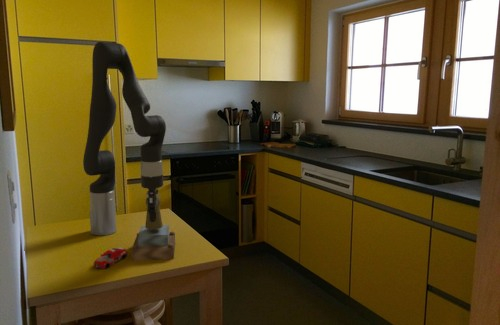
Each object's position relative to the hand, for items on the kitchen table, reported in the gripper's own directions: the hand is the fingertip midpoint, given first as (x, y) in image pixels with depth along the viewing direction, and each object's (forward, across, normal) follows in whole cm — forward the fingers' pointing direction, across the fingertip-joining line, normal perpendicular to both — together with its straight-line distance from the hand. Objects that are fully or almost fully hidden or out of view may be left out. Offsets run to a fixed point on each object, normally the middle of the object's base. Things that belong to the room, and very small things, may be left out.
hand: (153, 220), depth 148 cm
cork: (+3, 0, 0) cm, 3 cm away
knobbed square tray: (+12, 0, 0) cm, 12 cm away
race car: (+12, +7, -14) cm, 20 cm away
